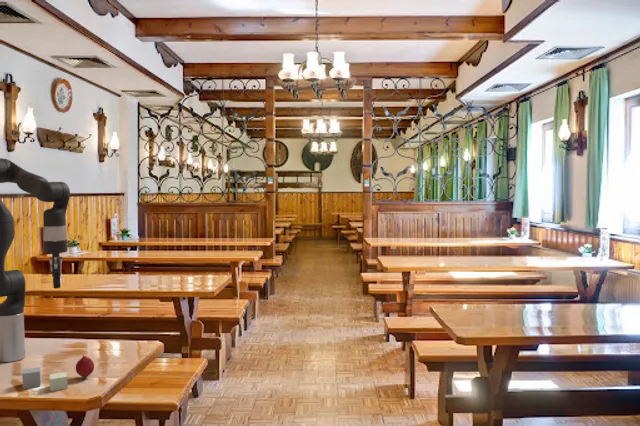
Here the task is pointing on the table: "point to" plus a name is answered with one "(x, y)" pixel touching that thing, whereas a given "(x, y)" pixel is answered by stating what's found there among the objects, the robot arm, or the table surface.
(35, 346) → the table surface
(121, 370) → the table surface
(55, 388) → the sage block
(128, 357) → the table surface
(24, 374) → the slate block
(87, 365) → the onion
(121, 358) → the table surface
